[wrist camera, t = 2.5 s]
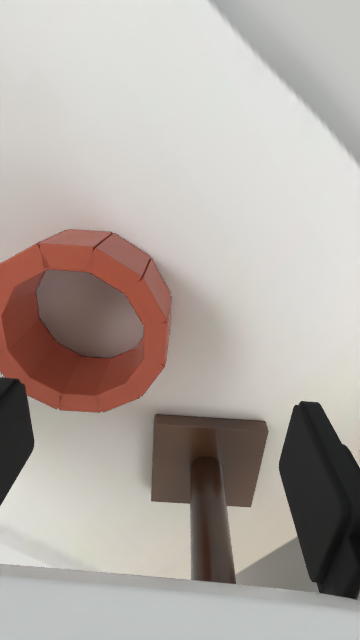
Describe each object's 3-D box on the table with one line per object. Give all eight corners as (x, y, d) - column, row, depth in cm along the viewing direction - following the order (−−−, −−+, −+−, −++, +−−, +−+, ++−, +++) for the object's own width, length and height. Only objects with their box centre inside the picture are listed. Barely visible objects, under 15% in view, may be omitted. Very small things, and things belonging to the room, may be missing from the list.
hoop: (28, 367, 22) (-4, 406, 18) (6, 224, 18) (-41, 237, 14) (167, 376, 22) (163, 417, 18) (174, 235, 18) (171, 252, 14)
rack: (152, 490, 26) (120, 784, 14) (155, 414, 23) (116, 708, 10) (248, 496, 27) (306, 793, 14) (265, 420, 23) (361, 721, 10)
